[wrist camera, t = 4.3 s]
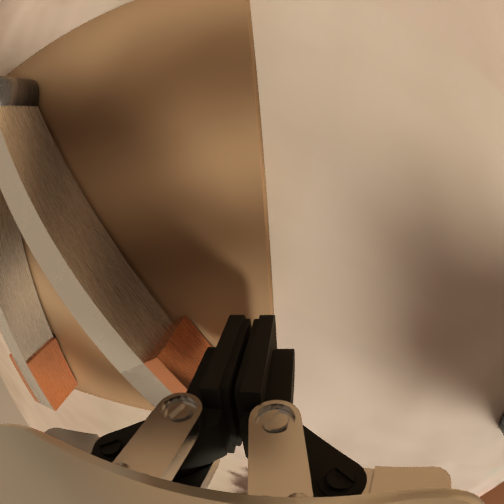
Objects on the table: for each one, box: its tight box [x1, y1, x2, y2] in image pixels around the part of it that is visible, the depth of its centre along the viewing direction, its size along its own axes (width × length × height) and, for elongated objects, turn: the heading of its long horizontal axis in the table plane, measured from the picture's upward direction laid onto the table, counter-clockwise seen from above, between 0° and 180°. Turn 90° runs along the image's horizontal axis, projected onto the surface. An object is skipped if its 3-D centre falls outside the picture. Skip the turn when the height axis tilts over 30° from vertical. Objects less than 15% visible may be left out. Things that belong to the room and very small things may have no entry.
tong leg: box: [0, 76, 212, 407], centre depth 10 cm, size 19×3×3 cm, turn 34°
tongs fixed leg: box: [0, 189, 78, 411], centre depth 12 cm, size 17×2×3 cm, turn 4°
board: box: [5, 0, 274, 411], centre depth 13 cm, size 22×18×1 cm
